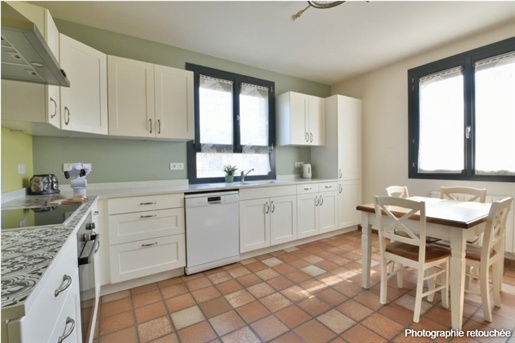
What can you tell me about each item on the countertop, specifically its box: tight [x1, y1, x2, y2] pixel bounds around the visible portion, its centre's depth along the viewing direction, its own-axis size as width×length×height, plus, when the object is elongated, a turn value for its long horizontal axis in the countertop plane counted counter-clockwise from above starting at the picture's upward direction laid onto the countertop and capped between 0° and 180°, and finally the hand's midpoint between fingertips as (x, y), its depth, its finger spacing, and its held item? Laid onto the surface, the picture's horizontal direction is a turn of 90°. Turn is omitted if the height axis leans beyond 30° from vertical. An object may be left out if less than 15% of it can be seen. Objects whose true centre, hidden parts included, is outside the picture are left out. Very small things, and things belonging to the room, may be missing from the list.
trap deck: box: [44, 197, 89, 207], centre depth 165 cm, size 16×20×4 cm
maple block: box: [73, 194, 84, 201], centre depth 167 cm, size 5×5×4 cm
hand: (73, 176), depth 163 cm, fingers open, 7 cm apart
